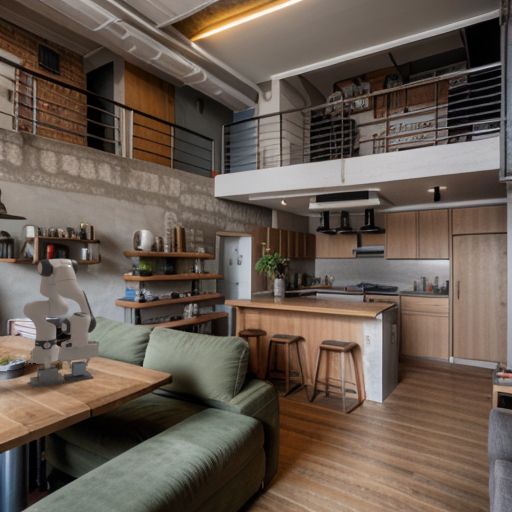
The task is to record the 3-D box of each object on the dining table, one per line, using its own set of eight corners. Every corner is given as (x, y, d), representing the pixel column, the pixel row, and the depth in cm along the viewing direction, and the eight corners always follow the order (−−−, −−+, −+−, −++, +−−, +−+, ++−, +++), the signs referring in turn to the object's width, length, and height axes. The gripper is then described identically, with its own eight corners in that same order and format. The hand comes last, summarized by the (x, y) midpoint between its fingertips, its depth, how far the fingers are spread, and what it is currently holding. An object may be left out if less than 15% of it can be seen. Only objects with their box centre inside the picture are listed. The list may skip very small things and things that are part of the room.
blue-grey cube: (71, 373, 195) (71, 362, 195) (83, 371, 198) (83, 360, 199) (73, 375, 190) (74, 364, 190) (85, 373, 194) (86, 362, 194)
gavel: (62, 371, 195) (41, 373, 190) (62, 379, 195) (40, 381, 190) (62, 359, 213) (43, 361, 208) (62, 367, 213) (43, 369, 209)
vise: (30, 381, 186) (31, 355, 186) (60, 376, 194) (60, 352, 195) (32, 388, 175) (33, 360, 176) (64, 382, 184) (65, 356, 185)
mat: (63, 375, 196) (64, 374, 196) (87, 372, 203) (87, 370, 203) (68, 382, 185) (68, 380, 185) (93, 378, 192) (93, 376, 192)
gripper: (97, 339, 204) (97, 363, 203) (58, 343, 191) (57, 368, 191) (100, 340, 199) (100, 365, 198) (60, 345, 186) (59, 371, 186)
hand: (78, 367), depth 194 cm, fingers closed on blue-grey cube, 6 cm apart
